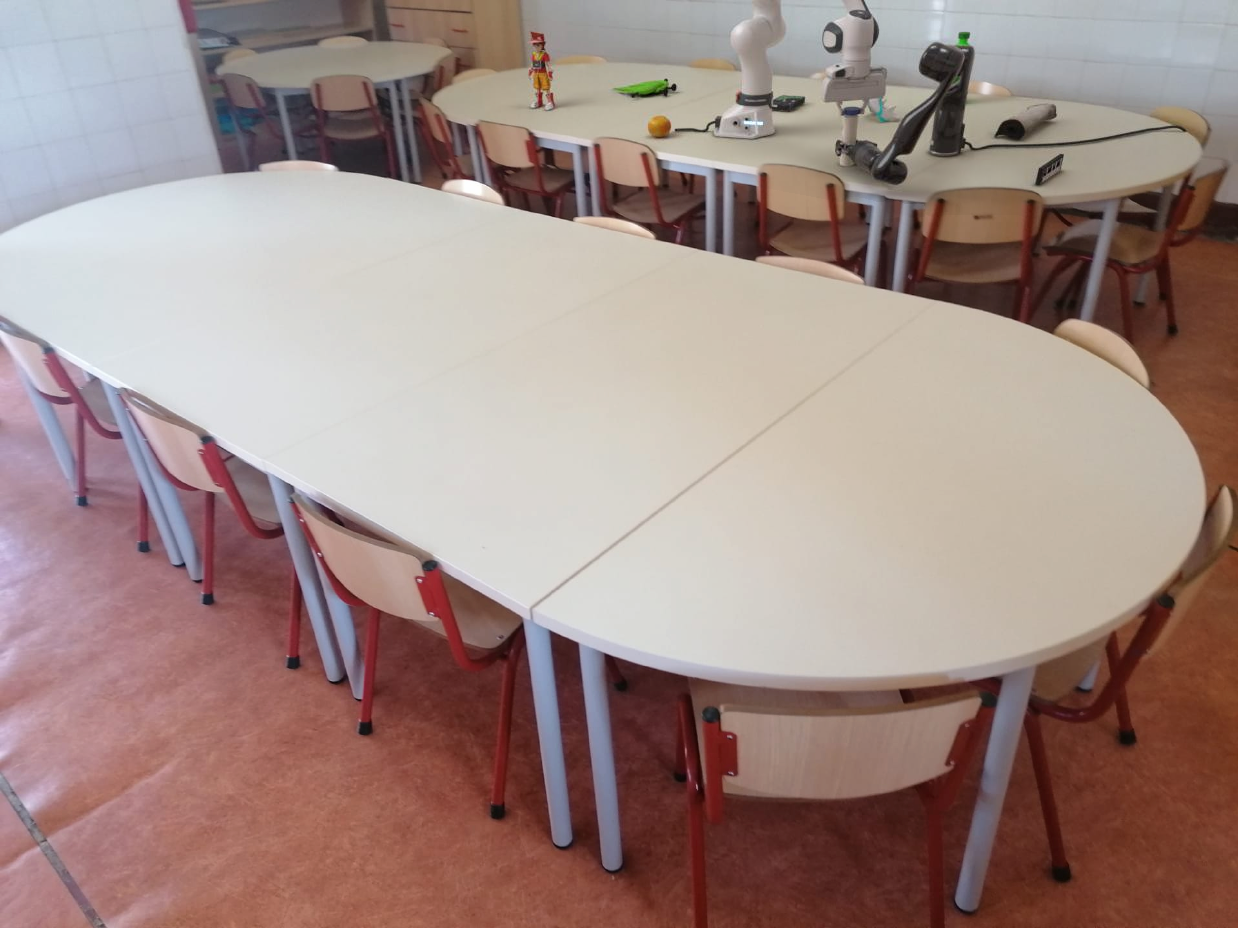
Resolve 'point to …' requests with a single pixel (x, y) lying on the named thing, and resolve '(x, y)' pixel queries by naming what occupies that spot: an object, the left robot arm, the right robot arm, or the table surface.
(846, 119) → the jar
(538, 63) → the toy
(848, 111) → the lid
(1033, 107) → the rolled mat
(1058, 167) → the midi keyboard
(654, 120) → the fruit
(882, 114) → the anatomical model
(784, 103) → the disk drive
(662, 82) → the toy
